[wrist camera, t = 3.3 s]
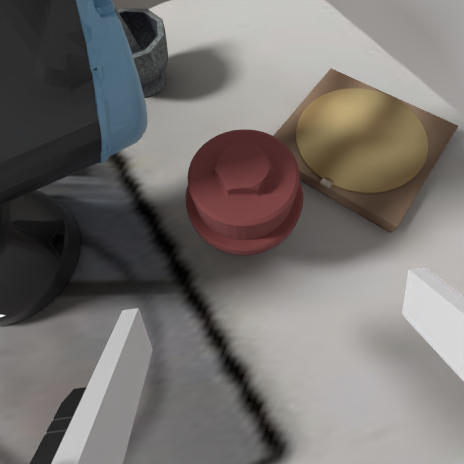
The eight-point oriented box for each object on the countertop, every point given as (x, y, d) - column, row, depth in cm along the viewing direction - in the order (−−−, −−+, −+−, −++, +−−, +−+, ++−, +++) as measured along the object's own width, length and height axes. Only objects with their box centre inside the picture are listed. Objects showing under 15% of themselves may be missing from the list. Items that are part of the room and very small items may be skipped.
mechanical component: (307, 245, 30) (226, 289, 29) (260, 176, 33) (186, 213, 32) (344, 187, 18) (211, 258, 17) (267, 91, 22) (151, 144, 20)
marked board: (261, 157, 34) (261, 148, 32) (327, 78, 38) (331, 66, 36) (389, 233, 30) (397, 226, 28) (449, 134, 34) (459, 124, 32)
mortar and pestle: (190, 80, 39) (168, -21, 28) (140, 118, 37) (94, 25, 26) (143, 45, 43) (105, -59, 31) (93, 78, 41) (35, -20, 29)
